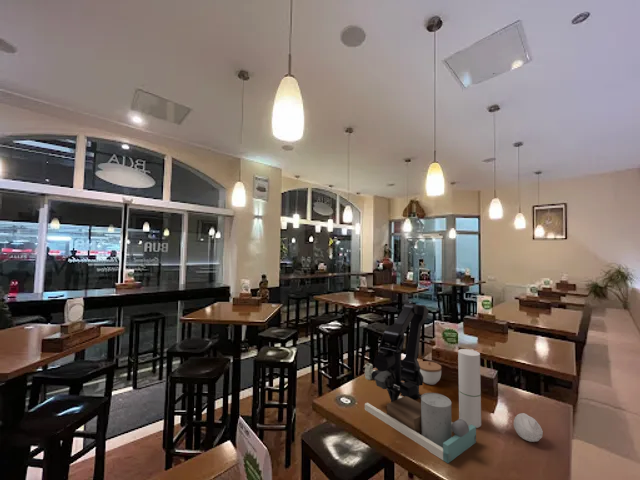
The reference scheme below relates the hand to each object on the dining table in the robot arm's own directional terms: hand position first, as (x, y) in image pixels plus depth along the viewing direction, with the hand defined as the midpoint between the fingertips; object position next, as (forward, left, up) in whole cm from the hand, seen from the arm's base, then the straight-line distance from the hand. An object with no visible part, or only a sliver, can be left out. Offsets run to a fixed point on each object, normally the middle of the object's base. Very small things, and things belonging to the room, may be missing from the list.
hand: (393, 404), depth 111 cm
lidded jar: (-35, -8, -3) cm, 36 cm away
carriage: (0, +8, -3) cm, 8 cm away
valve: (-16, -24, -3) cm, 28 cm away
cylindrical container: (-18, +20, -3) cm, 27 cm away
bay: (0, +11, -3) cm, 12 cm away
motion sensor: (-24, +36, -3) cm, 44 cm away
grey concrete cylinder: (0, +18, -3) cm, 19 cm away
